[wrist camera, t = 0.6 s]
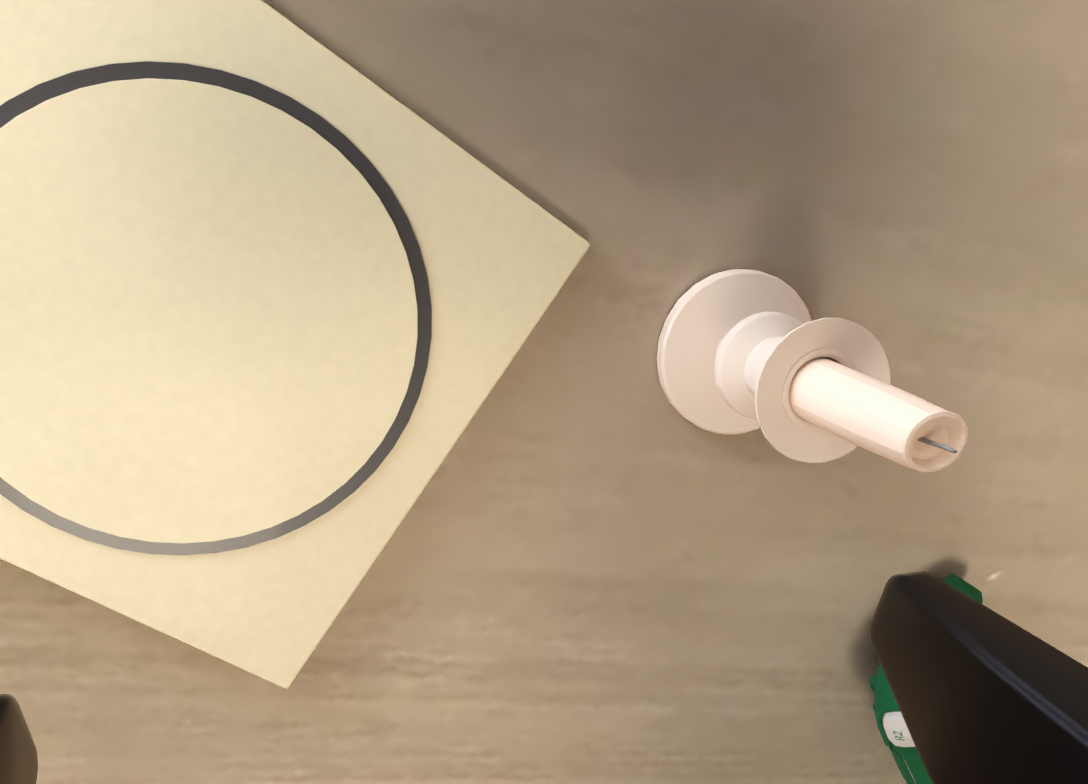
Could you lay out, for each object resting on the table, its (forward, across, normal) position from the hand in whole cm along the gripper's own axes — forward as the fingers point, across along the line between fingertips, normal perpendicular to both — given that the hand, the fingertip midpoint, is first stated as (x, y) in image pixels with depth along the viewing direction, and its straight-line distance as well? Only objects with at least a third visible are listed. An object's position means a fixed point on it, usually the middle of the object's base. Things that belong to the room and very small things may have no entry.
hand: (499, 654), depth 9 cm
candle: (+16, -11, +6) cm, 21 cm away
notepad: (+16, +5, +5) cm, 18 cm away
